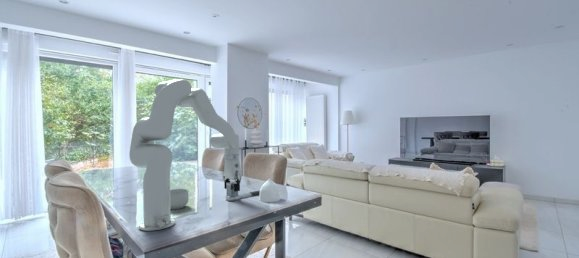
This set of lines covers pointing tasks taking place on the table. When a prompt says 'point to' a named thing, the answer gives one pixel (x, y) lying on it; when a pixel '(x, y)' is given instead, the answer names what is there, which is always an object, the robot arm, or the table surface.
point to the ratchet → (242, 196)
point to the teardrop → (269, 192)
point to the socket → (231, 189)
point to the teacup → (178, 198)
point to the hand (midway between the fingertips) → (232, 189)
